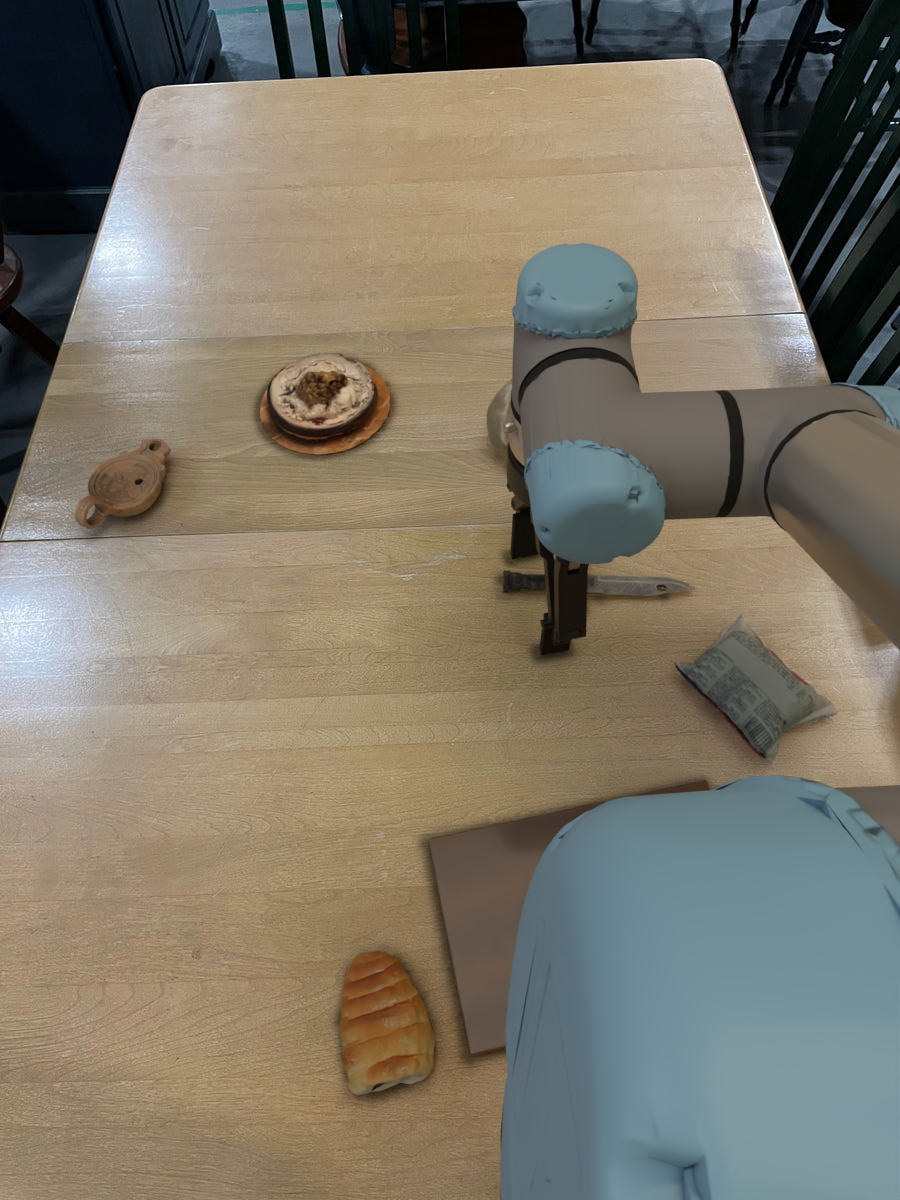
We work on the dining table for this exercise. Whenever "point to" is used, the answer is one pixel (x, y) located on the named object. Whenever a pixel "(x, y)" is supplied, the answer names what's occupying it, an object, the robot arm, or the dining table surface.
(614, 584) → the knife
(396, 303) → the dining table surface
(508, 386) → the beige rounded shell
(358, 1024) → the pastry
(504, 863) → the cutting board
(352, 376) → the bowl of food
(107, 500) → the oil lamp
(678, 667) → the packaged food
